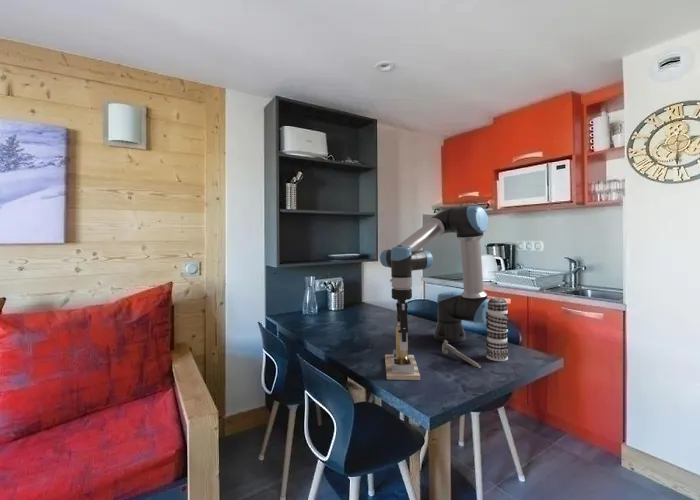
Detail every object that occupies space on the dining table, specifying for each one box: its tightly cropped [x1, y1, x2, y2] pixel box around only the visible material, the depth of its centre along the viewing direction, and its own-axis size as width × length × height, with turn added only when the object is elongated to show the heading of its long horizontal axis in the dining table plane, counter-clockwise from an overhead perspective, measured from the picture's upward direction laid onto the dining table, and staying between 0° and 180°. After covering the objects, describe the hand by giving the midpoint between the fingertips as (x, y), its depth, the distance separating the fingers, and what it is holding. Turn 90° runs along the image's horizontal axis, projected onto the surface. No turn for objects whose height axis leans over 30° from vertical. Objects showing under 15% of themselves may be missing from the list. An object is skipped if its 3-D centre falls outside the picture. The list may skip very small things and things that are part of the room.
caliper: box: [441, 340, 482, 369], centre depth 145 cm, size 20×1×6 cm, turn 29°
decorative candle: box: [485, 297, 510, 362], centre depth 147 cm, size 9×9×25 cm
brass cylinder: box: [395, 326, 409, 365], centre depth 132 cm, size 4×4×16 cm
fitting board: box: [384, 349, 421, 381], centre depth 137 cm, size 22×12×4 cm, turn 176°
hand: (402, 344), depth 132 cm, fingers open, 13 cm apart
